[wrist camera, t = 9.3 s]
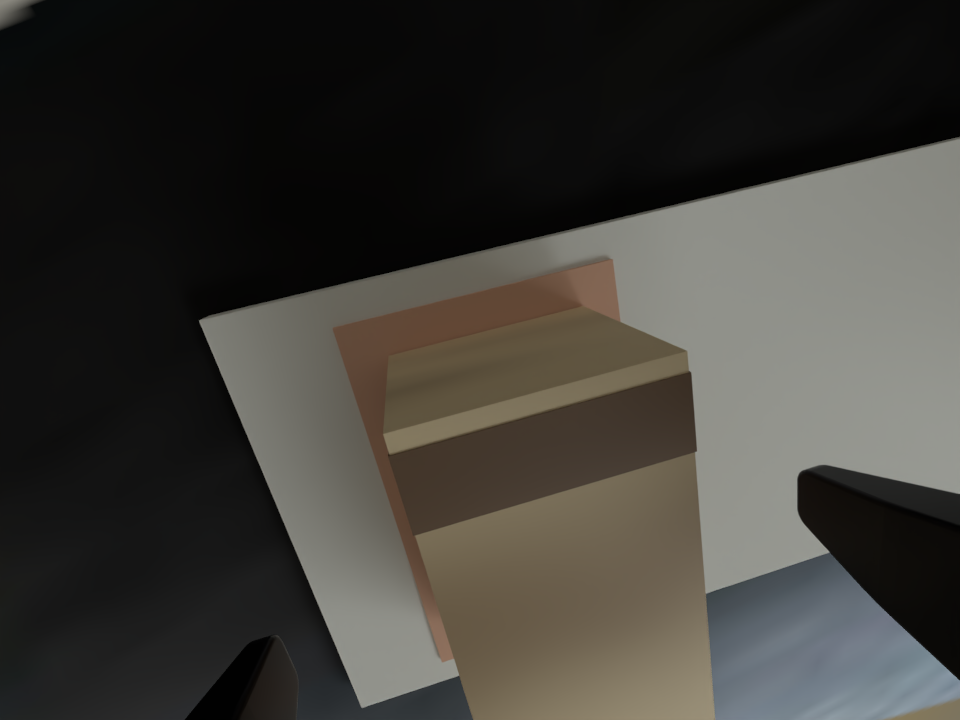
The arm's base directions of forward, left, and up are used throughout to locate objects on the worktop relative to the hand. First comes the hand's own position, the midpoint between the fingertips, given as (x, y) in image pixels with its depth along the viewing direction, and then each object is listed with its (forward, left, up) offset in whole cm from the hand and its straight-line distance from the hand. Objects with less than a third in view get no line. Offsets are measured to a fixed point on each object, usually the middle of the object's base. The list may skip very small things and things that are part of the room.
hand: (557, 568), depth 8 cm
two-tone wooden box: (0, 0, -3) cm, 3 cm away
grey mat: (-6, 0, -3) cm, 7 cm away
